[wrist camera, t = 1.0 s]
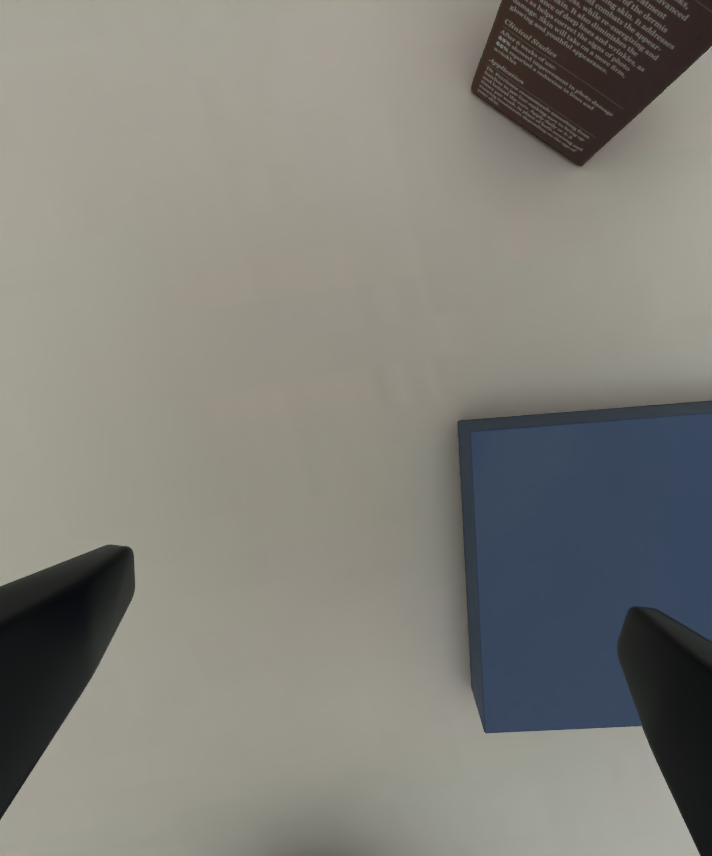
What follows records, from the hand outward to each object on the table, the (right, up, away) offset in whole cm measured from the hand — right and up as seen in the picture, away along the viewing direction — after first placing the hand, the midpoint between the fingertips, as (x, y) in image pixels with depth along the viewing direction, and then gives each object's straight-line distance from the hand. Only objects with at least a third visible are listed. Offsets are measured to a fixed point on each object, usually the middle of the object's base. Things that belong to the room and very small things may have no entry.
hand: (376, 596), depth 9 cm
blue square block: (+12, -3, +15) cm, 19 cm away
